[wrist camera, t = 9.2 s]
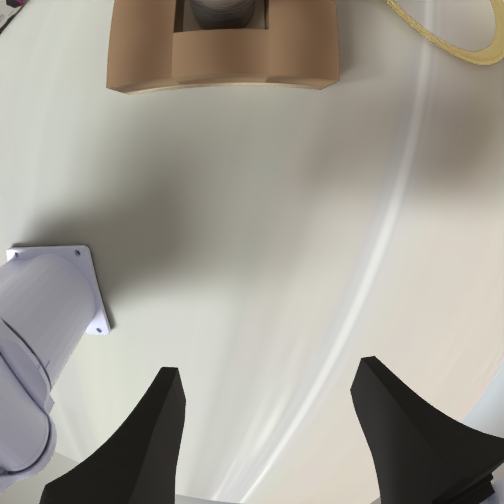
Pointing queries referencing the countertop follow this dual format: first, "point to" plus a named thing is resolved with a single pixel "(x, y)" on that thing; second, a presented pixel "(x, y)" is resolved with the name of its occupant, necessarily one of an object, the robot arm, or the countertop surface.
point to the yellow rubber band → (494, 53)
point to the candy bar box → (8, 11)
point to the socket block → (222, 47)
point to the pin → (222, 13)
